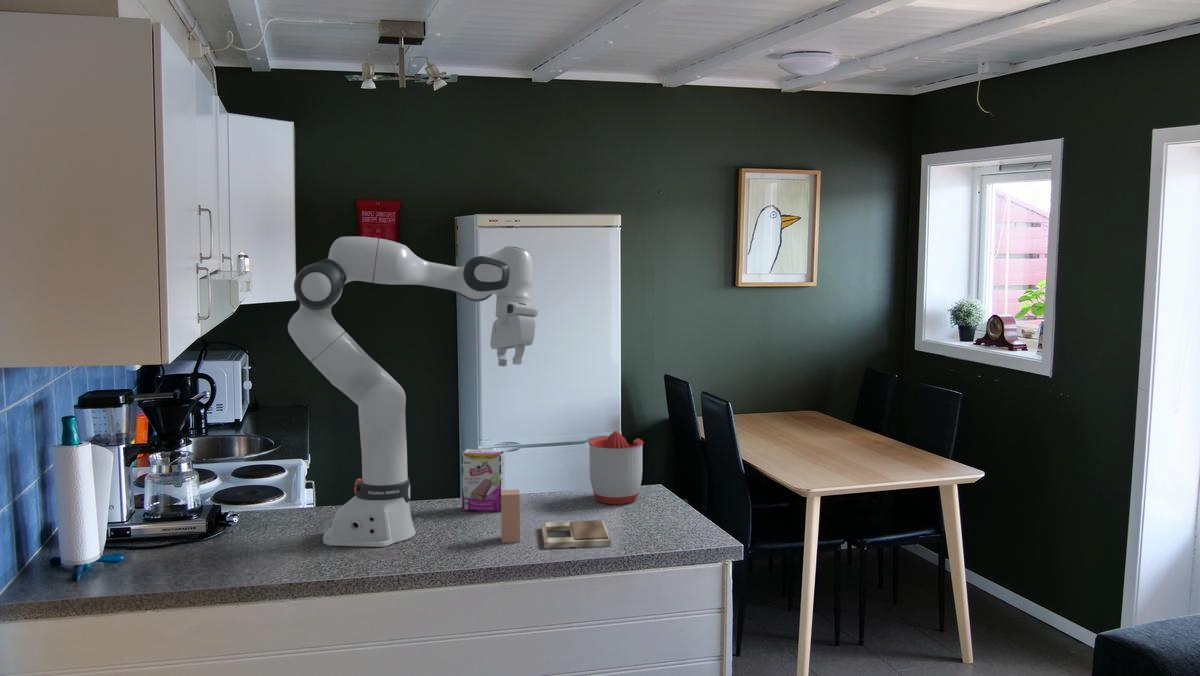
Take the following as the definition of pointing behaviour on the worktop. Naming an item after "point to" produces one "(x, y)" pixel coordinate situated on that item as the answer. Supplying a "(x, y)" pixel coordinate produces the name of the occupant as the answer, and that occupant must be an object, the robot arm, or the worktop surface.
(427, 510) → the worktop surface
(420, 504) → the worktop surface
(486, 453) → the candy bar box
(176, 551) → the worktop surface
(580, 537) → the hole board
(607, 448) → the citrus juicer
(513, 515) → the terracotta block
